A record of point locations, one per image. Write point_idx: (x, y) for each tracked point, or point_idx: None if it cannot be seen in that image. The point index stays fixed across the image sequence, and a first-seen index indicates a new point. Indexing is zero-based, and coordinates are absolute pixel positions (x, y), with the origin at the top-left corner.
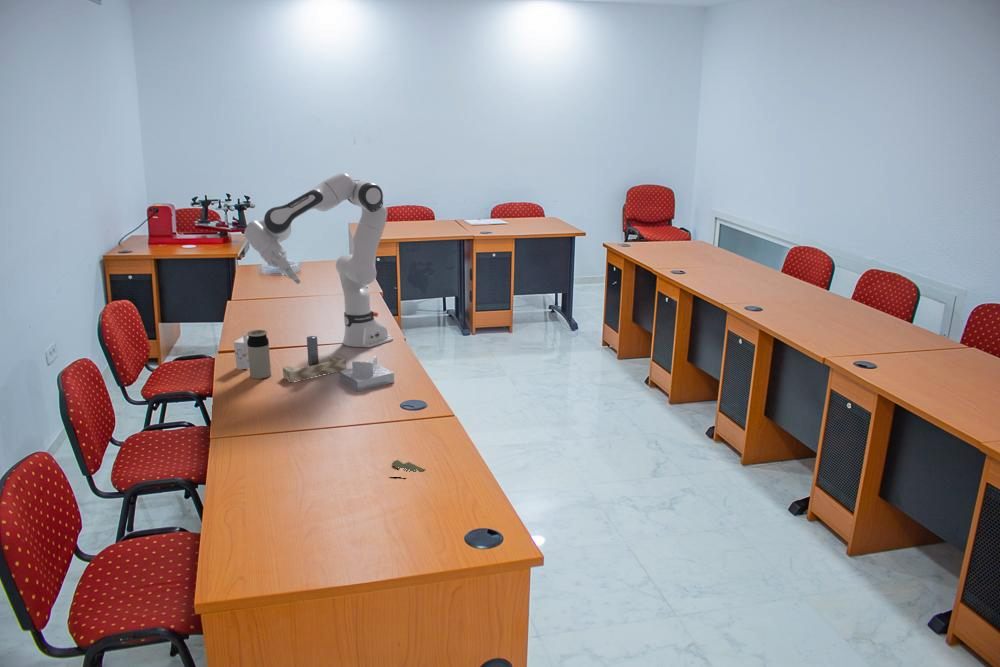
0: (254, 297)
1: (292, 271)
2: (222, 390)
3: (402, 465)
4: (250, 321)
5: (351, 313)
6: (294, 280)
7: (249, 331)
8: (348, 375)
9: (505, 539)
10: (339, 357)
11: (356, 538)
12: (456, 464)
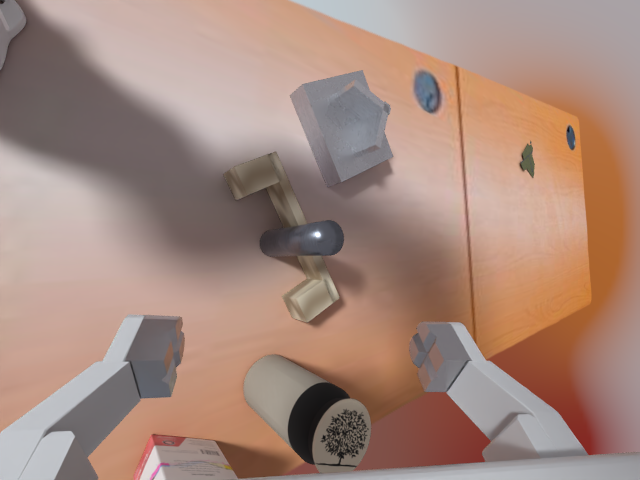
0: None
1: (529, 396)
2: None
3: (525, 161)
4: None
5: None
6: (126, 408)
7: None
8: (364, 167)
9: (571, 125)
10: (255, 165)
11: (569, 216)
12: (523, 112)
